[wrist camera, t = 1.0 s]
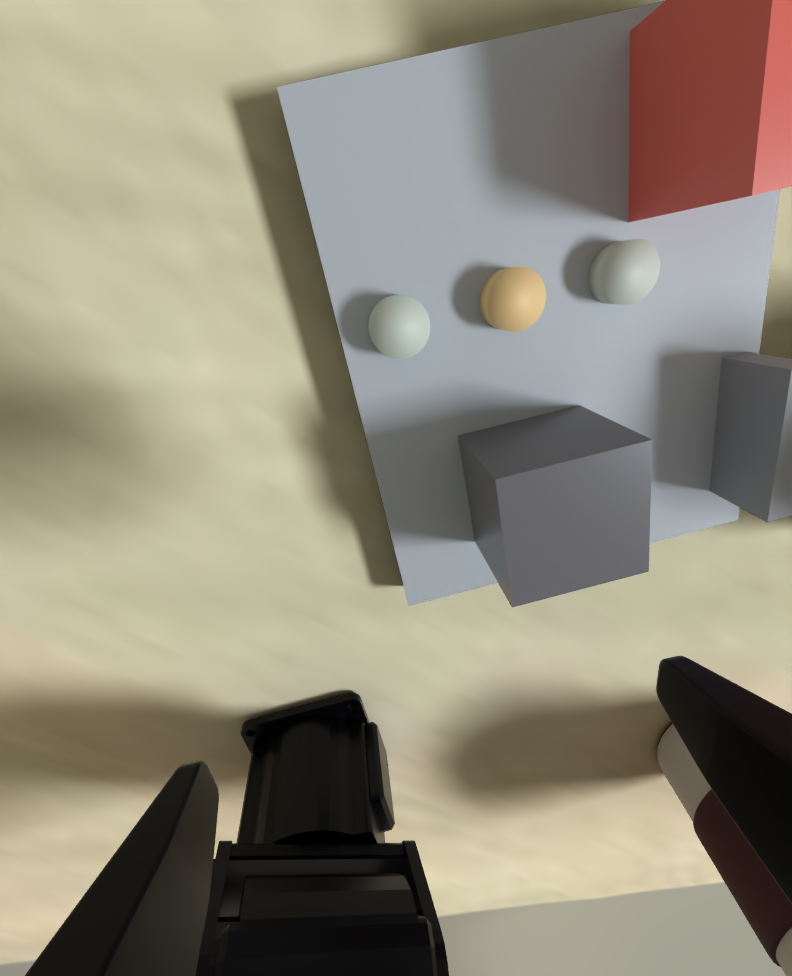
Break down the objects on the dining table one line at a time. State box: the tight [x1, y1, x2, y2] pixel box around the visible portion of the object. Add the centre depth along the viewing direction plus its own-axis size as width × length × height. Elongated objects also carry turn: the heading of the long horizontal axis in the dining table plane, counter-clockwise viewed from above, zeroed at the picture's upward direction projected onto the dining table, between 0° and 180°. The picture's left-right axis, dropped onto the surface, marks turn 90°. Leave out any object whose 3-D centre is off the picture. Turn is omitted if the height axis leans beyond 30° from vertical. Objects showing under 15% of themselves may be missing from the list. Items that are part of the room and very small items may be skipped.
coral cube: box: [629, 0, 792, 222], centre depth 12 cm, size 5×5×5 cm
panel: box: [277, 1, 792, 606], centre depth 16 cm, size 16×19×4 cm
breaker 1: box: [458, 405, 653, 607], centre depth 17 cm, size 5×5×4 cm
